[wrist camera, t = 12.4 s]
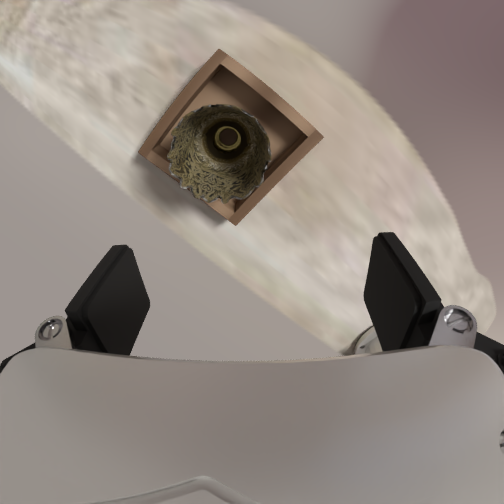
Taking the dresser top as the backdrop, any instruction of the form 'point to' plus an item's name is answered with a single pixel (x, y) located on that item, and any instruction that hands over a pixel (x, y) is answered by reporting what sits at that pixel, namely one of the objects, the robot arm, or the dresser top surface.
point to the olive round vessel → (219, 153)
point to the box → (253, 102)
